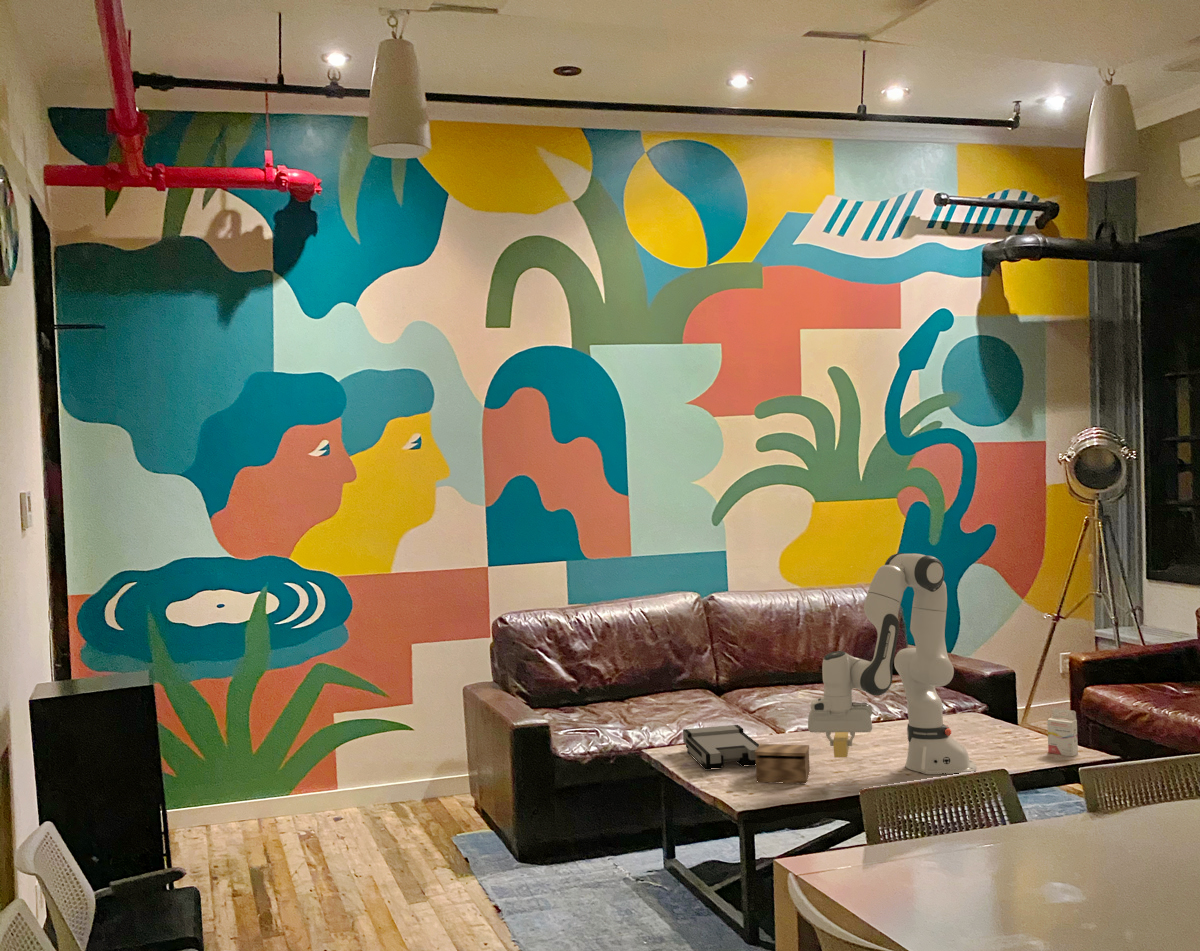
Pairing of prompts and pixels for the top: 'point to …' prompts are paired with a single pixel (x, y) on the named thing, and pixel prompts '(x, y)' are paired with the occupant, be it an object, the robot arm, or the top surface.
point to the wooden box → (782, 768)
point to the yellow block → (840, 745)
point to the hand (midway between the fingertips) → (841, 745)
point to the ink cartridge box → (1062, 733)
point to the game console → (720, 745)
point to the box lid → (782, 750)
